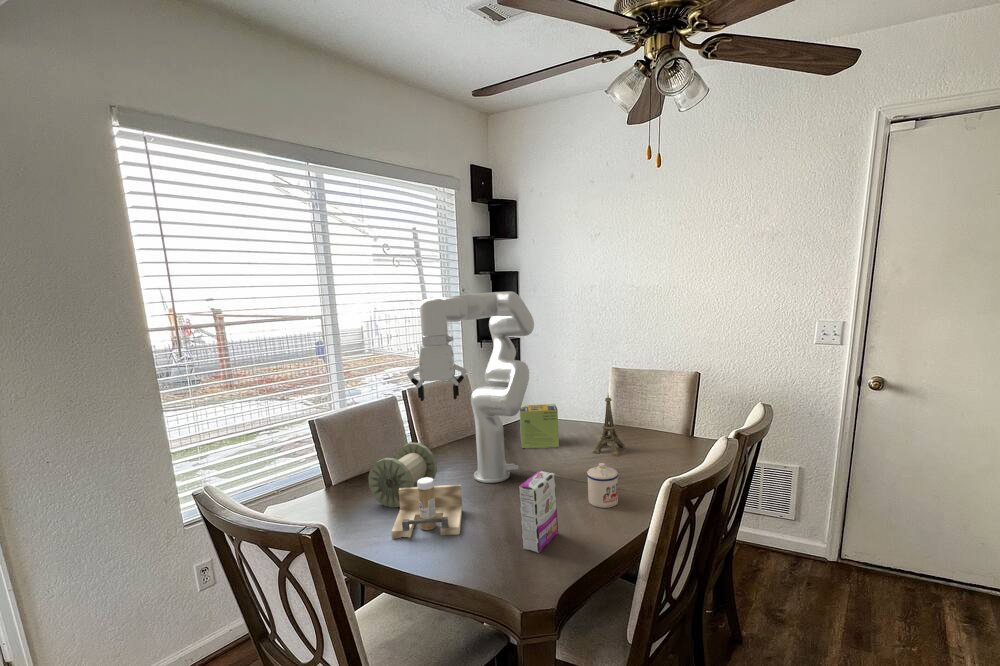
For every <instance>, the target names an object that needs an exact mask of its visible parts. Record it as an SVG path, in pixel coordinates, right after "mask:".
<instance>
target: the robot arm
mask: <svg viewBox="0 0 1000 666" xmlns="http://www.w3.org/2000/svg"><path fill="white" fill-rule="evenodd" d="M419 314H420V328H421V329H420V330H421V342H422V343H421V346H420V347H419V348H420V349H419V357H418V358H419V359H418V366H417V367H415V368H413V369H411V370H410V371H408V372H407V374H406V375H407V376H408V378H409V380H410V382H411V383H412V384H413V385H414V386H415V387H416V388H417V396H418V399H420V402H424V401H425V388H424V386H423V384H424V382H432V381H433V382H434V381H436V382H437V381H451V382H452V384H453V385H452V391H453V392H452V393H453V400H458V397H460V396H459V395H460V390H459V388H460V387H459V385H460V384H461V383H462V381H463V380H464V379H465V377H466V374H467V372H468V370H467V368H465V367H463V366H460V365H458V364H456V363H455V357H454V352H453V351H454V350H453V347H452V344H450V342H454V336H450V335H449V333H448V332H449V329H448V323H457V322H461V321H465V320H466V321H468V320H469V321H470V320H471V321H472V320H480V319H487V318H489V321H488V327H489V332H490V335H491V339H492V344H493V345H492V347H493V348H492V351H491V354H490V358H489V360H488V362H487V366H486V368H485V371H484V376H483V377H484V381H485V383H486V384H488V385H483V386H478V387H477V388H474V390H473V391H472V393H471V396H470V405H471V409H472V413H473V417H474V423H475V425H474V426H475V438H476V439H475V441H476V443H475V444H476V456H477V457H476V459H477V470H476V471H474V473H473V479H475V481H478V482H479V483H485V484H496V483H500V482H503V481H506V480H508V479H509V478H510V476H511V472H518V471H519V465H518V464H517V465H516V464H515V463H508V462H507V460H506V457H505V455H506V454H505V439H504V437H505V436H504V434H505V433H504V425H503V422H502V419H501V417H500V416H503V417H514V416H517V414H519V413H520V408H521V406H523V405H522V404H523V401H524V398H525V395H526V392H527V389H528V386H529V381H530V369H529V366H528V364H527V363H526V362H524V361H523V360H517V359H515V358H516V355H517V350H516V347H515V345H514V343H513V342H512V340H511V339H510V337H527V336H530V335H531V334H532V333H533V331H534V327H535V321H534V320H535V319H534V318H533V315H532V313H531V311H530V310H529V308H528V307H527V305H526V304H525V302H524V300H523V299H522V298H521V296H520V295H518V294H517V293H516V292H515V291H512V290H511V291H494V292H493V291H492V292H479V293H478V292H477V293H475V292H474V293H466V294H461V295H450V296H441V297H439V296H438V297H430V298H427V299H423V300H421V301H420V303H419ZM456 371H457V372H460V373H461V374H460V375H459V376H458V378H457V377H456V376H455V375H456ZM417 373H418V374H419V379H420V380H419V379H417V378H416V377H415V374H417Z"/></svg>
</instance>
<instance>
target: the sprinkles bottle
mask: <svg viewBox="0 0 1000 666" xmlns="http://www.w3.org/2000/svg"><path fill="white" fill-rule="evenodd" d="M434 486H435V478H434V479H433V478H429V477H425V478H421V479H419V480H418V481H417V487H418V490H419V510H420V520H422V519H436V511H435V496H434ZM419 526H420V529H421V530H424V531H430V530H433V529H435V528H436V527H437V523H422V524H419Z"/></svg>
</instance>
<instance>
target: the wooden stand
mask: <svg viewBox="0 0 1000 666" xmlns="http://www.w3.org/2000/svg"><path fill="white" fill-rule="evenodd" d="M434 496H435V511H436V519H422V520H420V510H419V490H418V487H409V488H399V501H400V506H399V511H398V514H397V516H396V519H395V521H394V524H393V526H392V529H391V531H390V532H391V539H402V538H401V537H408V538H411V537H412V535H413V532H412V531H414V529H413V528H415V526H416V524H417V525H421V524H422V523H436V524H437V523H438V524H439V523H441V525H440V528H439V529H440V536H452V535H454V536H455V535H460V533H461V525H462V518H463V517H462V516H463V502H462V501H463V499H462V498H463V497H462V484H447V485H446V484H444V485H434Z"/></svg>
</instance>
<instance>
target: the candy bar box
mask: <svg viewBox="0 0 1000 666" xmlns="http://www.w3.org/2000/svg"><path fill="white" fill-rule="evenodd" d="M556 488H557V487H556V473H554V472H549V471H543V470H538V471H537V472H536V473H534V474H533V475H532V476H530V477H529V478H527V480H525V481H524V482H523V483H521V484H520V485H519V486H518V493H519V494H518V495H519V509H520V520H521V521H520V522H521V524H520V525H521V536H522V540H521V541H522V549H523V550H526V551H530V552H534V553H538V554H539V553H541V552H542V551H543V550H544V549H545V548H546V547H547V546H548V544H549V543H551V541H552V540H553V539H554V538H555V537H556V536H557V535H558V534H559V525H558V524H559V523H558V507H557V492H556V491H557V490H556Z"/></svg>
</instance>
